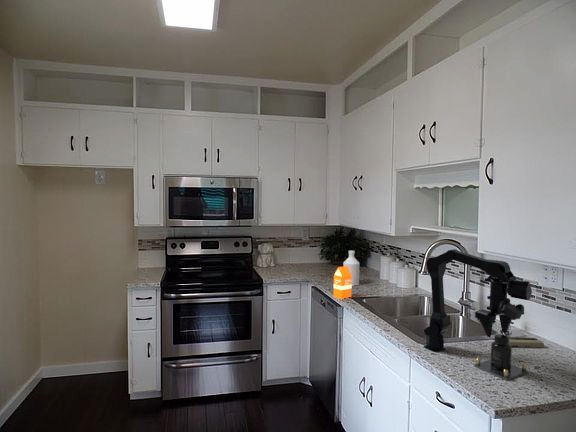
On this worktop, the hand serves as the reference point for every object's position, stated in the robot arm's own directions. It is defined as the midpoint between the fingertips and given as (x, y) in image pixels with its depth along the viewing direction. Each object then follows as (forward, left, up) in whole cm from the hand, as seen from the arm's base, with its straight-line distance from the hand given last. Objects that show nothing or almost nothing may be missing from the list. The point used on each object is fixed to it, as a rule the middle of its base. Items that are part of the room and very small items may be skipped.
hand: (496, 335), depth 147 cm
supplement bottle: (+2, 0, -12) cm, 12 cm away
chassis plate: (+2, 0, -13) cm, 13 cm away
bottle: (-139, +36, -13) cm, 144 cm away
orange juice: (-111, +8, -13) cm, 113 cm away
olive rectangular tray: (-10, +32, -13) cm, 36 cm away
